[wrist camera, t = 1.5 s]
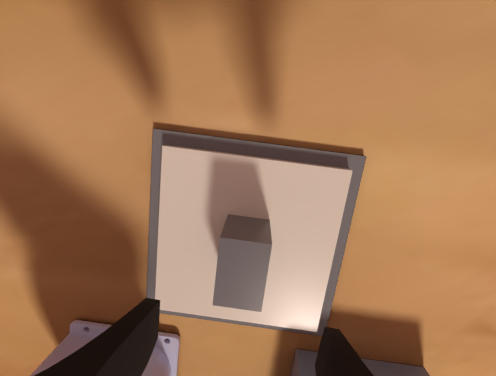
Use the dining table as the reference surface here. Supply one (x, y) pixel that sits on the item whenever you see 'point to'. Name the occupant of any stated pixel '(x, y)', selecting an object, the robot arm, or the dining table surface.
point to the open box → (383, 372)
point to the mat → (263, 151)
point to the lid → (247, 236)
